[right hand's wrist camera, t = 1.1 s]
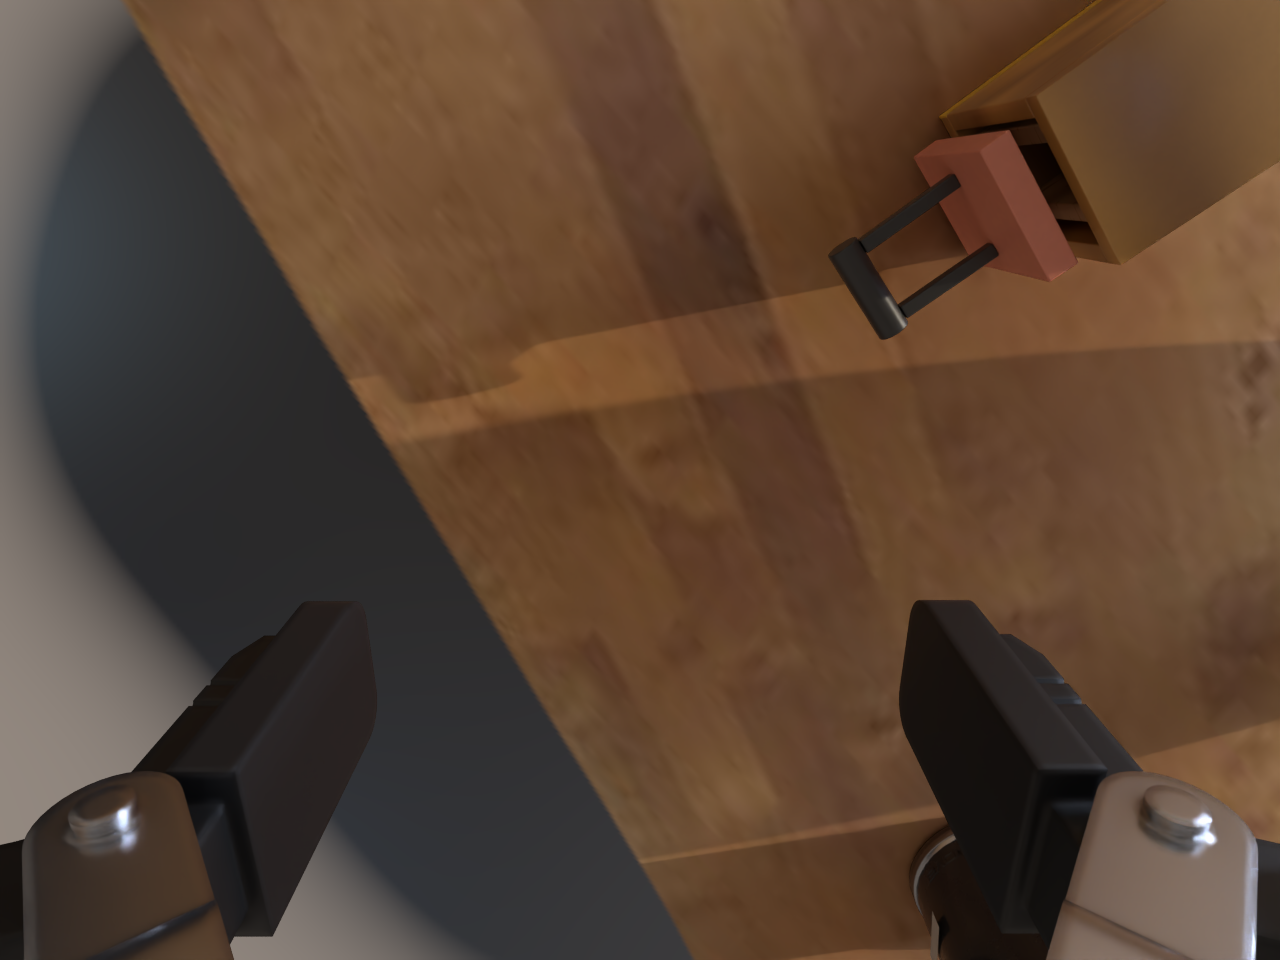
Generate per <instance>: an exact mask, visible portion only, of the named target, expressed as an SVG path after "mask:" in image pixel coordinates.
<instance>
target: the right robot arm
mask: <svg viewBox="0 0 1280 960" xmlns="http://www.w3.org/2000/svg"><path fill="white" fill-rule="evenodd" d="M899 707H900V716H901V721H902V726H903V729H904V732H905V735H906V737H907V739H908V741H909V743H910V745H911V747H912V749H913V752H914V754H915V756H916V758H917V760H918V762H919V764H920V766H921V768H922V770H923V772H924V774H925V776H926V778H927V780H928V783H929V785H930V787H931V789H932V791H933V793H934V795H935V797H936V799H937V801H938V803H939V805H940V807H941V809H942V811H943V814H944V816H945V818H946V820H947V822H948V824H949V826H948V827H946V828H944V829H942V830H941V831H939V832H938V833H936V834H935V835H934V836H933V837H931V838H930V839H929V840H928V841H927V842H926V843H925V844H924V845H923V846H922V848H921V849H920V850H919V852H918V853H917V855H916V857H915V859H914V861H913V863H912V866H911V870H910V877H909V880H910V888H911V891H912V894H913V897H914V899H915V902H916V905H917V907H918V909H919V911H920V913H921V914H922V916H923V918H924V920H925V923H926V926H927V928H928V931H929V933H930V936H931V953H930V956H931V959H932V960H937V957H939V960H1280V844H1278V843H1274V842H1269V841H1265V840H1261V839H1256V838H1255V837H1254V835H1253V833H1252V832H1251V830H1250V829H1249V827H1248V826H1247V824H1246V823H1245V822H1244V821H1243V820H1242V819H1241V818H1240V817H1239V816H1238V815H1237V814H1236V813H1235V812H1234V811H1233V810H1232V809H1230V808H1229V807H1228V806H1226V805H1225V804H1224V803H1222V802H1221V801H1220V800H1218V799H1217V798H1215V797H1213V796H1212V795H1210V794H1208V793H1207V792H1205V791H1203V790H1201V789H1199V788H1197V787H1195V786H1193V785H1190V784H1188V783H1186V782H1183V781H1181V780H1178V779H1175V778H1172V777H1168V776H1165V775H1160V774H1156V773H1150V772H1144V771H1143V770H1142V769H1141V768H1140V767H1139V766H1138V764H1137V763H1136V762H1135V761H1134V760H1133V759H1132V757H1131V756H1130V755H1129V754H1128V753H1127V752H1126V751H1125V749H1124V748H1123V747H1122V746H1121V745H1120V744H1119V742H1118V741H1117V740H1116V739H1115V738H1114V737H1113V735H1112V734H1111V733H1110V732H1109V731H1108V730H1107V728H1106V727H1105V726H1104V725H1103V724H1102V723H1101V721H1100V720H1099V719H1098V718H1097V717H1096V716H1095V715H1094V713H1093V712H1092V711H1091V710H1090V709H1089V708H1088V706H1087V705H1086V704H1082V703H1081V698H1080V697H1079V696H1078V695H1077V694H1076V692H1075V691H1074V690H1073V689H1072V688H1071V687H1070V685H1069V684H1064V678H1063V677H1062V676H1061V675H1060V674H1059V673H1058V672H1057V670H1056V669H1055V668H1054V667H1053V666H1052V665H1051V663H1050V662H1049V661H1048V660H1047V659H1046V658H1045V656H1044V655H1043V654H1041V653H1039V652H1038V651H1036V650H1035V649H1033V648H1032V647H1030V646H1028V645H1027V644H1025V643H1024V642H1022V641H1021V640H1019V639H1017V638H1016V637H1014V636H1013V635H1011V634H999V633H998V632H997V631H996V629H995V628H994V627H993V626H992V624H991V623H990V622H989V621H988V619H987V618H986V617H985V616H984V614H983V613H982V612H981V611H980V609H979V608H978V607H977V606H976V605H975V604H974V603H973V602H972V601H970V600H918V601H916V602H915V603H914V605H913V607H912V610H911V613H910V619H909V626H908V633H907V640H906V647H905V654H904V662H903V669H902V676H901V683H900V691H899ZM376 709H377V692H376V684H375V677H374V670H373V663H372V656H371V649H370V642H369V635H368V628H367V621H366V615H365V611H364V609H363V606H362V605H361V604H360V603H359V602H356V601H307V602H304V603H302V604H301V605H300V606H299V608H298V609H297V610H296V611H295V613H294V614H293V615H292V616H291V617H290V619H289V620H288V621H287V622H286V624H285V625H284V626H283V627H282V629H281V630H280V631H279V632H278V634H277V635H276V636H263V637H262V638H260V639H258V640H257V641H255V642H254V643H252V644H251V645H249V646H248V647H246V648H244V649H243V650H241V651H240V652H238V653H236V654H235V655H233V656H232V657H231V658H230V659H229V660H228V662H227V663H226V664H225V665H224V666H223V667H222V668H221V670H220V671H219V672H218V673H217V674H216V675H215V676H214V678H213V679H212V680H211V685H207V686H206V687H205V688H204V689H203V690H202V691H201V693H200V694H199V695H198V696H197V697H196V698H195V699H194V701H193V706H188V708H187V709H186V710H185V711H184V712H183V713H182V714H181V716H180V717H179V718H178V719H177V720H176V721H175V722H174V724H173V725H172V726H171V727H170V728H169V729H168V730H167V732H166V733H165V734H164V735H163V736H162V737H161V739H160V740H159V741H158V742H157V743H156V744H155V745H154V747H153V748H152V749H151V750H150V751H149V752H148V754H147V755H146V756H145V757H144V758H143V759H142V760H141V762H140V763H139V764H138V765H137V766H136V767H135V768H134V770H133V771H132V772H130V773H124V774H120V775H115V776H112V777H108V778H105V779H102V780H99V781H97V782H95V783H92V784H90V785H87V786H85V787H83V788H81V789H79V790H77V791H75V792H73V793H72V794H70V795H68V796H67V797H65V798H63V799H62V800H60V801H59V802H58V803H56V804H55V805H54V806H52V807H51V808H50V809H49V810H47V811H46V812H45V813H44V814H43V815H42V816H41V817H40V818H39V819H38V820H37V821H36V822H35V823H34V825H33V826H32V827H31V829H30V830H29V832H28V833H27V835H26V837H25V839H23V840H20V841H16V842H12V843H7V844H3V845H0V960H234V958H233V954H232V951H231V947H230V943H231V942H232V940H233V938H234V936H273V934H274V932H275V930H276V928H277V926H278V924H279V922H280V920H281V918H282V916H283V914H284V912H285V910H286V908H287V906H288V904H289V902H290V900H291V898H292V896H293V894H294V892H295V890H296V887H297V886H298V883H299V881H300V879H301V877H302V875H303V873H304V871H305V869H306V867H307V865H308V863H309V861H310V859H311V857H312V855H313V853H314V851H315V849H316V847H317V845H318V843H319V841H320V839H321V837H322V834H323V832H324V830H325V828H326V826H327V824H328V822H329V820H330V818H331V816H332V814H333V812H334V810H335V808H336V806H337V804H338V802H339V800H340V798H341V796H342V794H343V792H344V790H345V788H346V786H347V783H348V781H349V779H350V777H351V775H352V773H353V771H354V769H355V767H356V765H357V763H358V761H359V759H360V757H361V755H362V753H363V751H364V749H365V747H366V745H367V743H368V741H369V739H370V736H371V734H372V731H373V727H374V723H375V718H376Z"/></svg>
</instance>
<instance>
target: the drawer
mask: <svg viewBox="0 0 1280 960" xmlns="http://www.w3.org/2000/svg"><path fill="white" fill-rule="evenodd" d="M914 159H915V161H916V163H917V165H918V166H919V168H920V170H921V172H922V173H923V175H924V177H925V179H926V180H927V182H928V184H929V186H930V188H929V189H927V190H926V191H925V192H923V193H922V194H920V195H919V196H918V197H916V198H915V199H914V200H912V201H911V202H909V203H908V204H907V205H905V206H904V207H902V208H901V209H900V210H898V211H897V212H895V213H894V214H893V215H891V216H890V217H888V218H887V219H886V220H884V221H883V222H882V223H880V224H879V225H877V226H876V227H875V228H873V229H872V230H870V231H869V232H868V233H866V234H865V235H863V236H862V237H861V238H859V239H857V238H856V237H853V238H850V239H848V240H846V241H844V242H843V243H841V244H840V245H838V246H837V247H836V248H834V249H833V250H832V251H831V252H830V253H829V255H828V257H829V259H830V260H831V262H832V264H833V265H834V267H835V268H836V270H837V272H838V273H839V275H840V276H841V278H842V279H843V281H844V283H845V284H846V286H847V287H848V289H849V291H850V292H851V294H852V295H853V297H854V299H855V300H856V302H857V303H858V305H859V307H860V308H861V310H862V311H863V313H864V315H865V316H866V318H867V319H868V321H869V322H870V324H871V326H872V327H873V329H874V330H875V332H876V334H877V335H878V337H879V338H880V339H881V340H884V339H888V338H891V337H893V336H895V335H896V334H898V333H899V332H901V331H902V330H903V329H904V328H905V327H906V326H907V324H908V321H907V319H906V318H905V317H907V318H908V317H910V316H911V315H913V314H914V313H916V312H917V311H919V310H920V309H921V308H923V307H924V306H926V305H927V304H929V303H930V302H932V301H933V300H935V299H936V298H938V297H939V296H940V295H942V294H943V293H945V292H946V291H948V290H949V289H951V288H952V287H954V286H955V285H957V284H958V283H960V282H961V281H962V280H964V279H965V278H967V277H968V276H970V275H971V274H973V273H974V272H976V271H977V270H979V269H980V268H981V267H983V266H987V267H991V268H995V269H999V270H1003V271H1007V272H1011V273H1015V274H1020V275H1024V276H1028V277H1032V278H1036V279H1040V280H1044V281H1048V282H1050V281H1052V280H1053V279H1055V278H1056V277H1058V276H1059V275H1061V274H1062V273H1064V272H1065V271H1067V270H1068V269H1070V268H1071V267H1073V266H1074V265H1076V264H1077V263H1078V261H1077V259H1076V257H1075V255H1074V253H1073V252H1072V250H1071V248H1070V246H1069V244H1068V242H1067V240H1066V238H1065V236H1064V234H1063V232H1062V230H1061V228H1060V226H1059V225H1058V223H1057V221H1056V219H1061V220H1072V221H1083V222H1087V220H1086V218H1085V216H1084V214H1083V212H1082V210H1081V208H1080V206H1079V204H1078V202H1077V200H1076V198H1075V196H1074V194H1073V192H1072V190H1071V188H1070V186H1069V184H1068V182H1067V180H1066V178H1065V176H1064V174H1063V172H1062V170H1061V168H1060V166H1059V164H1058V162H1057V160H1056V158H1055V156H1054V154H1053V152H1052V150H1051V148H1050V146H1049V145H1048V143H1047V141H1046V139H1045V137H1044V135H1043V133H1042V131H1041V129H1040V127H1039V125H1038V123H1037V121H1036V119H1035V118H1034V119H1027V120H1021V121H1015V122H1008V123H1002V124H996V125H990V126H985V127H984V128H982V129H981V130H979V131H978V132H977V133H976V135H969V136H962V137H955V138H948V139H941V140H936V141H934V142H933V143H932V144H930V145H929V146H927V147H926V148H925V149H923V150H922V151H921V152H919V153H918V154H917V155H915V156H914ZM937 203H940V205H941V207H942V209H943V211H944V212H945V214H946V216H947V218H948V219H949V221H950V223H951V225H952V226H953V228H954V230H955V232H956V234H957V235H958V237H959V239H960V241H961V242H962V244H963V246H964V248H965V249H966V251H967V253H968V255H969V256H967V257H966V258H964V259H963V260H962V261H960V262H959V263H957V264H956V265H954V266H953V267H951V268H950V269H948V270H947V271H946V272H944V273H943V274H941V275H940V276H938V277H937V278H935V279H934V280H933V281H931V282H930V283H928V284H927V285H925V286H924V287H922V288H921V289H919V290H918V291H917V292H915V293H914V294H912V295H911V296H909V297H908V298H906V299H905V300H904V301H902V302H901V303H899V304H898V305H897V303H896V301H895V300H894V298H893V296H892V295H891V293H890V292H889V290H888V288H887V287H886V285H885V283H884V282H883V280H882V278H881V277H880V275H879V273H878V272H877V270H876V269H875V267H874V265H873V264H872V262H871V260H870V259H869V257H868V255H867V254H866V252H867V253H868V252H870V251H871V250H873V249H874V248H875V247H877V246H878V245H880V244H881V243H882V242H884V241H885V240H887V239H888V238H890V237H891V236H892V235H894V234H895V233H897V232H898V231H899V230H901V229H902V228H904V227H905V226H906V225H908V224H909V223H911V222H912V221H913V220H915V219H916V218H918V217H919V216H920V215H922V214H923V213H925V212H926V211H927V210H929V209H930V208H932V207H933V206H934V205H936V204H937Z"/></svg>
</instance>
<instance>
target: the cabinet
mask: <svg viewBox="0 0 1280 960" xmlns="http://www.w3.org/2000/svg"><path fill="white" fill-rule="evenodd" d="M939 118H940V119H941V120H942V122H943V124H944V125H945V127H946V129H947V131H948V133H949V135H950V136H951V138H955V137H962V136H969V135H976V133H977V132H978V131H979V130H981V129H982V128H984V127H985V126H990V125H996V124H1002V123H1008V122H1015V121H1021V120H1027V119H1034V118H1035V119H1036V121H1037V123H1038V125H1039V127H1040V129H1041V131H1042V133H1043V135H1044V137H1045V139H1046V141H1047V143H1048V145H1049V146H1050V148H1051V150H1052V152H1053V154H1054V156H1055V158H1056V160H1057V162H1058V164H1059V166H1060V168H1061V170H1062V172H1063V174H1064V176H1065V178H1066V180H1067V182H1068V184H1069V186H1070V188H1071V190H1072V192H1073V194H1074V196H1075V198H1076V200H1077V202H1078V204H1079V206H1080V208H1081V210H1082V212H1083V214H1084V216H1085V218H1086V220H1087V222H1083V221H1072V220H1061V219H1056V221H1057V223H1058V225H1059V226H1060V228H1061V230H1062V232H1063V234H1064V236H1065V238H1066V240H1067V242H1068V244H1069V246H1070V248H1071V250H1072V252H1073V253H1074V255H1075V257H1077V258H1083V259H1089V260H1095V261H1101V262H1106V263H1111V264H1117V265H1122V264H1123V263H1125V262H1126V261H1128V260H1129V259H1131V258H1132V257H1134V256H1135V255H1137V254H1138V253H1140V252H1141V251H1143V250H1145V249H1146V248H1148V247H1149V246H1151V245H1152V244H1154V243H1155V242H1157V241H1158V240H1160V239H1161V238H1163V237H1164V236H1166V235H1167V234H1169V233H1170V232H1172V231H1173V230H1175V229H1177V228H1178V227H1180V226H1181V225H1183V224H1184V223H1186V222H1187V221H1189V220H1190V219H1192V218H1193V217H1195V216H1196V215H1198V214H1199V213H1201V212H1202V211H1204V210H1205V209H1207V208H1209V207H1210V206H1212V205H1213V204H1215V203H1216V202H1218V201H1219V200H1221V199H1222V198H1224V197H1225V196H1227V195H1228V194H1230V193H1231V192H1233V191H1234V190H1236V189H1237V188H1239V187H1241V186H1242V185H1244V184H1245V183H1247V182H1248V181H1250V180H1251V179H1253V178H1254V177H1256V176H1257V175H1259V174H1260V173H1262V172H1263V171H1265V170H1266V169H1268V168H1269V167H1271V166H1273V165H1274V164H1276V163H1277V162H1279V161H1280V0H1096V1H1095V2H1093V3H1092V4H1091V5H1089V6H1088V7H1086V8H1085V9H1084V10H1082V11H1081V12H1080V13H1078V14H1077V15H1076V16H1074V17H1073V18H1072V19H1070V20H1069V21H1067V22H1066V23H1065V24H1063V25H1062V26H1061V27H1059V28H1058V29H1057V30H1055V31H1054V32H1053V33H1051V34H1050V35H1049V36H1047V37H1046V38H1044V39H1043V40H1042V41H1040V42H1039V43H1038V44H1036V45H1035V46H1034V47H1032V48H1031V49H1030V50H1028V51H1027V52H1025V53H1024V54H1023V55H1021V56H1020V57H1019V58H1017V59H1016V60H1015V61H1013V62H1012V63H1011V64H1009V65H1008V66H1007V67H1005V68H1004V69H1002V70H1001V71H1000V72H998V73H997V74H996V75H994V76H993V77H992V78H990V79H989V80H988V81H986V82H985V83H983V84H982V85H981V86H979V87H978V88H977V89H975V90H974V91H973V92H971V93H970V94H969V95H967V96H966V97H965V98H963V99H962V100H960V101H959V102H958V103H956V104H955V105H954V106H952V107H951V108H950V109H948V110H947V111H946V112H944V113H943V114H941V115H940V116H939Z"/></svg>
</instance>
